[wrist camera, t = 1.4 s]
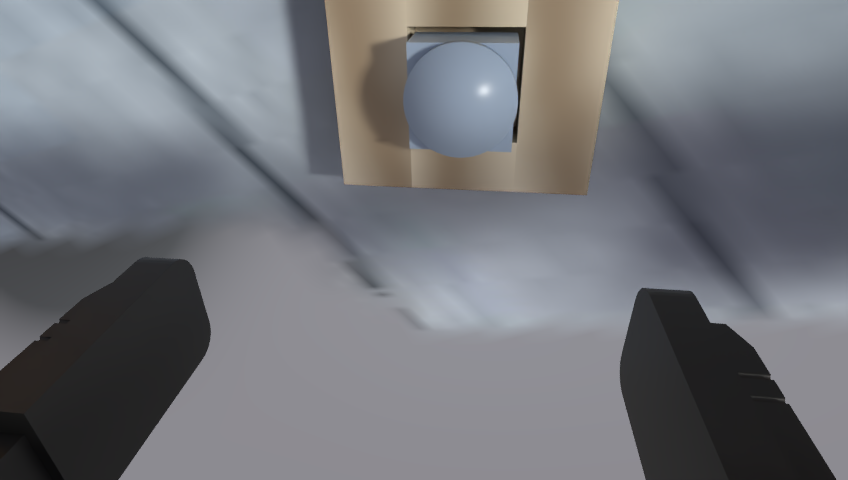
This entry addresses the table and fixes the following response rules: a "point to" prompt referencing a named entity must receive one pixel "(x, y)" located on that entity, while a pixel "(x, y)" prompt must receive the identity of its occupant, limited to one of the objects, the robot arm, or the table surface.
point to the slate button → (461, 91)
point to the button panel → (536, 84)
